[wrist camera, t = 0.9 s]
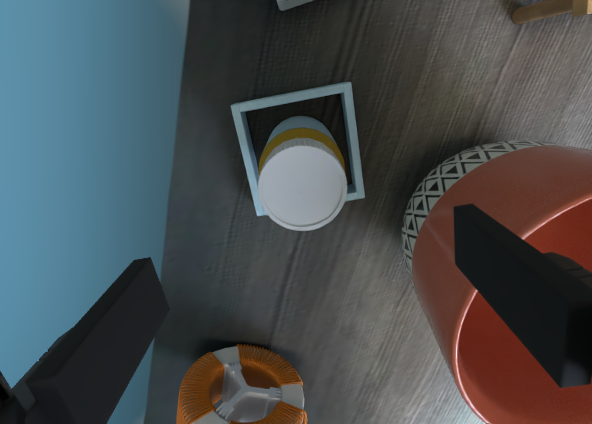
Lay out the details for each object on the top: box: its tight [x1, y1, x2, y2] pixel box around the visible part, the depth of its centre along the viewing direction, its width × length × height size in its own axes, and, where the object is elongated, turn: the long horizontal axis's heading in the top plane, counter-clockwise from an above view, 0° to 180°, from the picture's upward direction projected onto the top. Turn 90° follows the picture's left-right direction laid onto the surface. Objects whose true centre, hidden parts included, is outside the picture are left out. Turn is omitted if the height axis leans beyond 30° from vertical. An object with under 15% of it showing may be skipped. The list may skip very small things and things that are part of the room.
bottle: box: [258, 116, 347, 231], centre depth 31 cm, size 7×7×15 cm
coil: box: [176, 344, 307, 424], centre depth 42 cm, size 7×15×15 cm, turn 79°
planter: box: [402, 140, 592, 424], centre depth 30 cm, size 20×20×21 cm
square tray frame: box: [231, 82, 365, 216], centre depth 37 cm, size 12×12×3 cm
